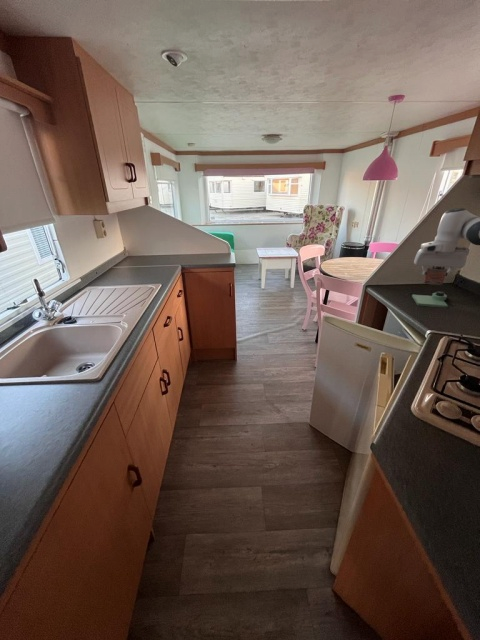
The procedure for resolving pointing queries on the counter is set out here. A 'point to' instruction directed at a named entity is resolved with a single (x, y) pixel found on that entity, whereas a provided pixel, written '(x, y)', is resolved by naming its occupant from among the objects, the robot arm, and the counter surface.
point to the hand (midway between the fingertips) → (434, 275)
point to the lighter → (435, 275)
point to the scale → (430, 300)
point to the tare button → (440, 293)
